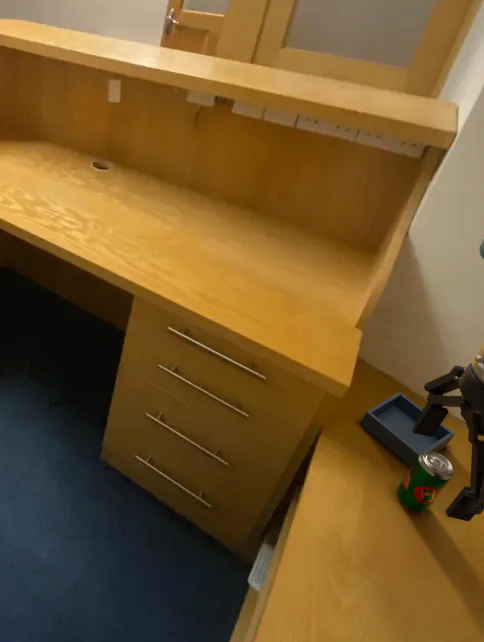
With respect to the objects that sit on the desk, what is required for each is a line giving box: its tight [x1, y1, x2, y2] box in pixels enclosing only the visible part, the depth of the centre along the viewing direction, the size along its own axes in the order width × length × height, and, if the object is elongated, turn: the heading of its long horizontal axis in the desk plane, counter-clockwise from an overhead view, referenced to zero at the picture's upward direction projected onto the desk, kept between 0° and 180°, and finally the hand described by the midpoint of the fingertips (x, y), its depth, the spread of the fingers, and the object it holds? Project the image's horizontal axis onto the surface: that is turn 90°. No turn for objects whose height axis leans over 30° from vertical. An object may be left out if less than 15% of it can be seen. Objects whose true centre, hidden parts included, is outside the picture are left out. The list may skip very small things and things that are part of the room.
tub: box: [359, 391, 456, 468], centre depth 105 cm, size 11×11×4 cm
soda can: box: [395, 451, 454, 513], centre depth 91 cm, size 5×5×12 cm
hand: (438, 472), depth 78 cm, fingers open, 13 cm apart
